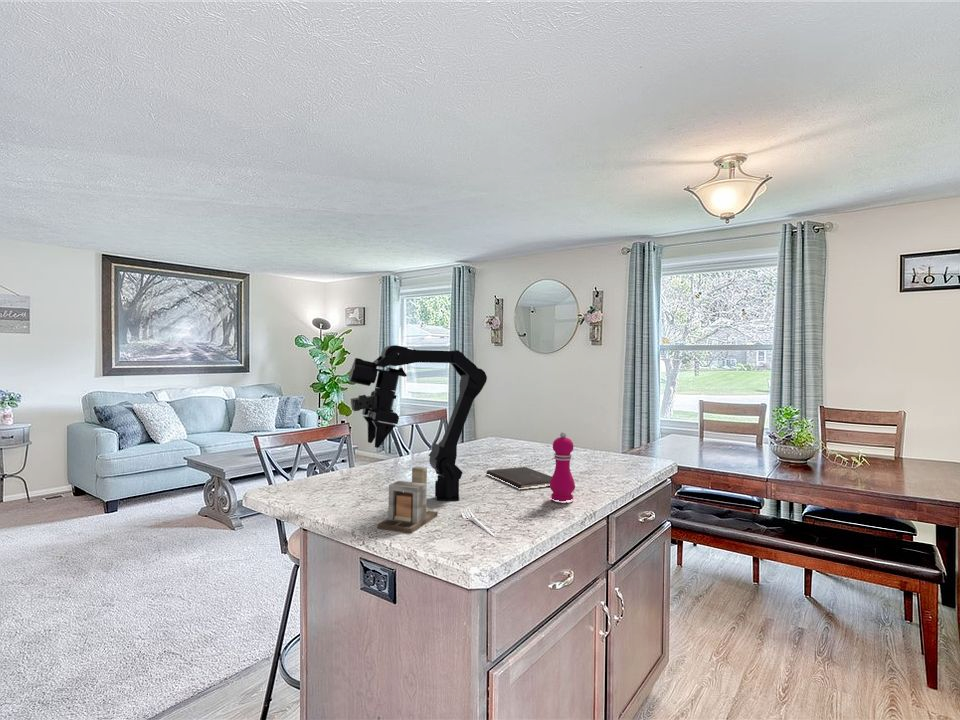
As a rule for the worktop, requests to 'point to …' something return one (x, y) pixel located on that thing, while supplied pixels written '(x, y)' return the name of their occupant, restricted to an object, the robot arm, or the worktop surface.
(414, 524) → the tunnel
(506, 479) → the hardcover book
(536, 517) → the worktop surface
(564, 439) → the pepper mill
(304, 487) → the worktop surface
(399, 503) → the beige orange stepped block
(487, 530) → the fork
